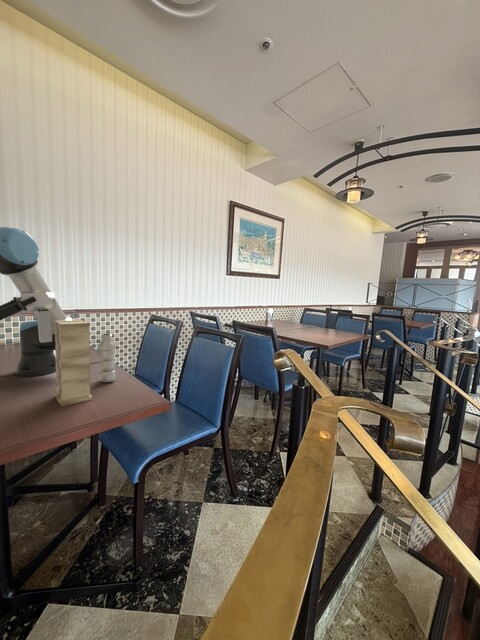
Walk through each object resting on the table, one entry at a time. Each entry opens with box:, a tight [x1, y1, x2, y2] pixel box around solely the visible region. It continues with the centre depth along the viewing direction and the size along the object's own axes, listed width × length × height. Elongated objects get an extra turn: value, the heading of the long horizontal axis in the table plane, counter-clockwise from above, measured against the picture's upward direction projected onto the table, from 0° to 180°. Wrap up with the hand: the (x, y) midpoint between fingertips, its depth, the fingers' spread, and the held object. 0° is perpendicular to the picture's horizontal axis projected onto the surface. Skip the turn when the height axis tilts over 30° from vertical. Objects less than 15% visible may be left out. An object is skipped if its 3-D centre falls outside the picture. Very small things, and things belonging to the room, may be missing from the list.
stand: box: [54, 319, 93, 407], centre depth 91 cm, size 11×9×27 cm
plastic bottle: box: [97, 333, 117, 383], centre depth 109 cm, size 6×7×20 cm
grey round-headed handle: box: [15, 291, 57, 343], centre depth 83 cm, size 6×16×9 cm
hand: (44, 292), depth 84 cm, fingers closed on grey round-headed handle, 6 cm apart
